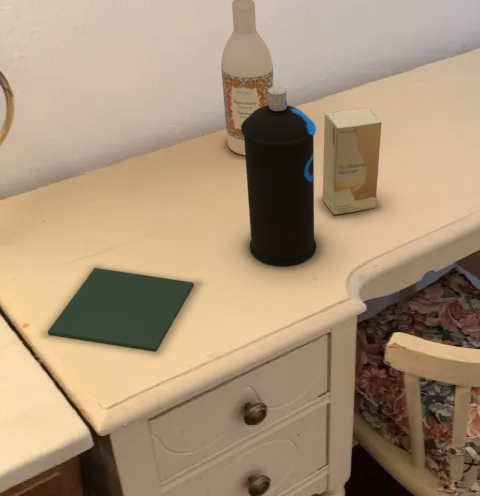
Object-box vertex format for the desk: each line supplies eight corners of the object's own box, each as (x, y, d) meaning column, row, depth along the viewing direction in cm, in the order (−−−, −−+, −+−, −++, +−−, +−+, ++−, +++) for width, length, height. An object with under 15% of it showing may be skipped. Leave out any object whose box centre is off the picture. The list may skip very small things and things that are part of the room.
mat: (48, 334, 89) (47, 331, 89) (95, 270, 98) (94, 267, 97) (155, 351, 88) (155, 348, 88) (193, 285, 97) (193, 282, 96)
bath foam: (223, 155, 119) (210, 9, 105) (232, 132, 124) (221, -10, 110) (271, 159, 119) (265, 13, 105) (279, 136, 124) (274, -6, 110)
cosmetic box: (333, 216, 109) (334, 128, 100) (321, 200, 111) (321, 112, 103) (378, 207, 111) (383, 120, 102) (365, 191, 114) (369, 105, 105)
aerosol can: (261, 272, 99) (251, 111, 85) (241, 235, 104) (229, 79, 91) (326, 259, 102) (326, 101, 88) (303, 224, 107) (300, 70, 93)
